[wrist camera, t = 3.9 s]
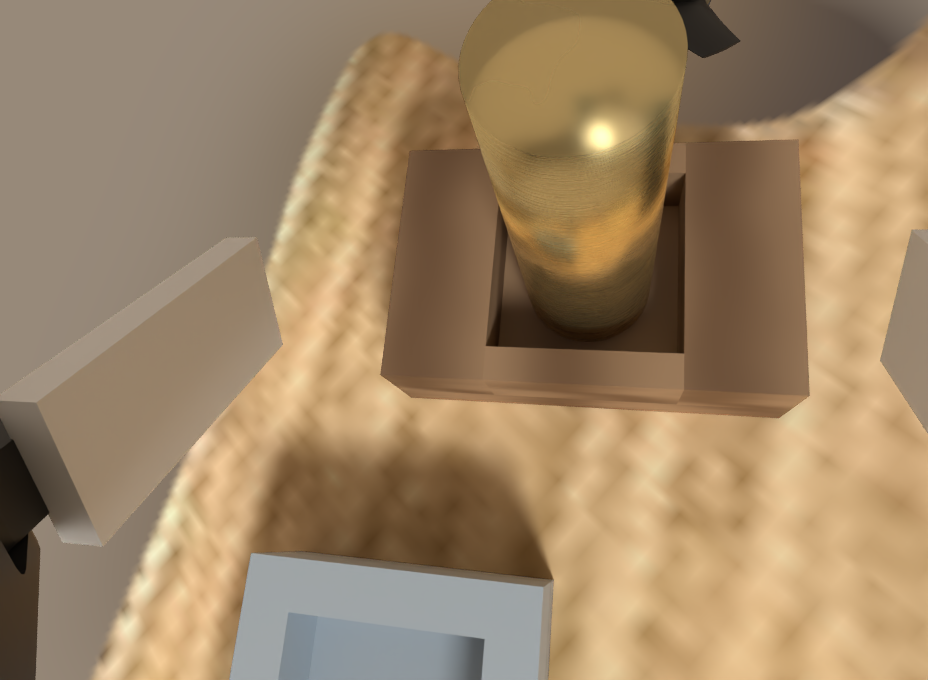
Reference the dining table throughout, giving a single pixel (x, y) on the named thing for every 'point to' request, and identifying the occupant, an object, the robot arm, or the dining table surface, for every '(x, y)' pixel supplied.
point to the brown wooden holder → (660, 324)
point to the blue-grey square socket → (388, 621)
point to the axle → (578, 146)
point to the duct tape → (704, 28)
